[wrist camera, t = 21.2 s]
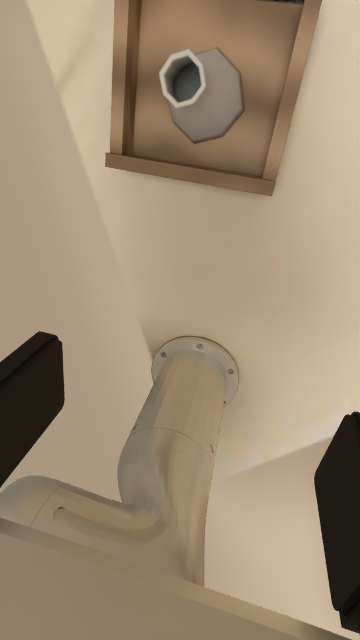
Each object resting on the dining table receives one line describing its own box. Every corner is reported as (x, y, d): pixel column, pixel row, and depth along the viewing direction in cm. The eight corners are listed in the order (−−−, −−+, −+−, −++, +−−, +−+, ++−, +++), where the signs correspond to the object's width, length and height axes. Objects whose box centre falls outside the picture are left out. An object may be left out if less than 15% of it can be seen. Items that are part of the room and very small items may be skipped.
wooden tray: (270, 189, 35) (271, 196, 30) (127, 164, 37) (105, 166, 32) (315, 15, 28) (326, -16, 23) (137, -4, 30) (110, -35, 25)
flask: (154, 84, 31) (111, 59, 23) (222, 29, 28) (203, -24, 20) (191, 157, 33) (165, 160, 25) (258, 114, 30) (255, 100, 22)
